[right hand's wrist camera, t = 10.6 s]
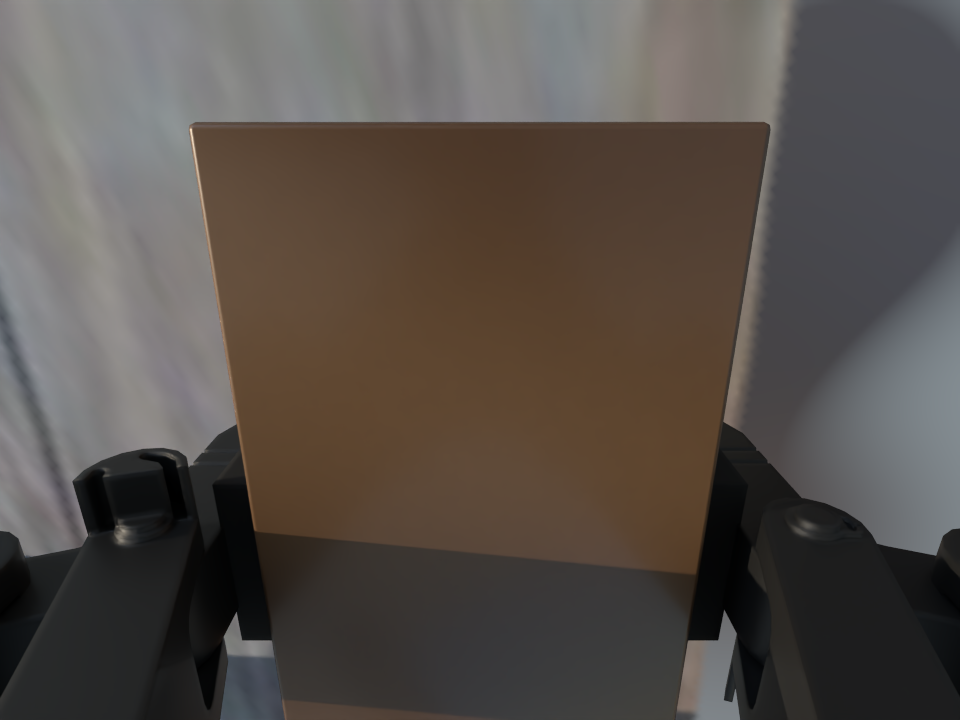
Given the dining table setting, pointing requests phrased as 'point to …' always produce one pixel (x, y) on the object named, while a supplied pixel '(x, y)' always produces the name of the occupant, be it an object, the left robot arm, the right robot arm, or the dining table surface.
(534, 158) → the bar
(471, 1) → the dining table surface
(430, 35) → the dining table surface
